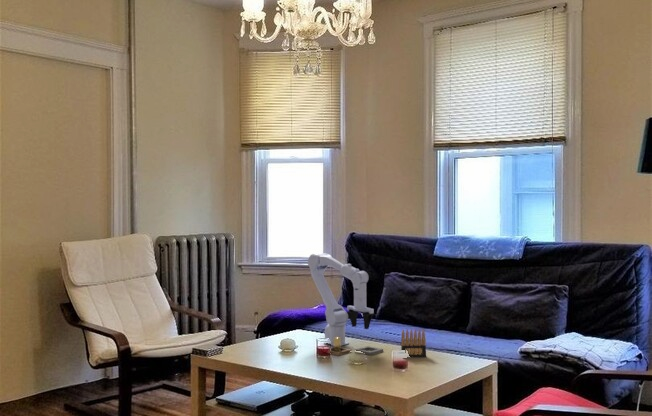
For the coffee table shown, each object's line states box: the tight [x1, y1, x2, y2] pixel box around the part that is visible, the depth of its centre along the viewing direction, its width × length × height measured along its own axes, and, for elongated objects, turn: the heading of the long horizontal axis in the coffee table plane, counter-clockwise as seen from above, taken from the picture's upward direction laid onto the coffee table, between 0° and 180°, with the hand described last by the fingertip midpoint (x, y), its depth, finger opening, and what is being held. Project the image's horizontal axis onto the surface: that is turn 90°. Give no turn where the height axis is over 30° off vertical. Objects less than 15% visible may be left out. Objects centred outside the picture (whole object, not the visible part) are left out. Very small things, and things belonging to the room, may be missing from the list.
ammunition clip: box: [400, 328, 427, 358], centre depth 282 cm, size 11×2×12 cm, turn 91°
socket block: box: [354, 345, 384, 356], centre depth 291 cm, size 9×9×1 cm
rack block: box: [330, 346, 352, 357], centre depth 291 cm, size 9×9×1 cm
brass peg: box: [333, 337, 342, 352], centre depth 291 cm, size 3×3×6 cm
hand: (360, 327), depth 299 cm, fingers open, 7 cm apart
